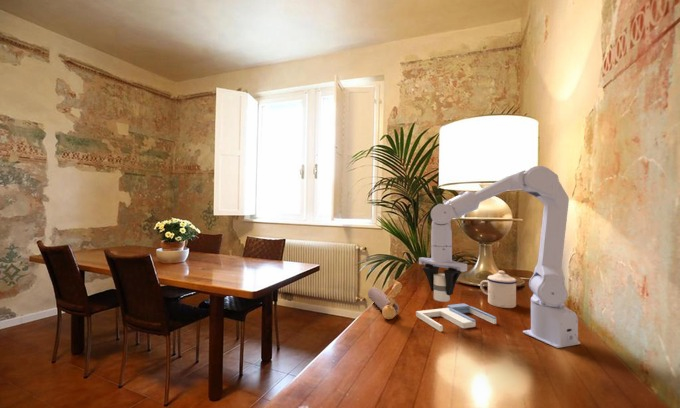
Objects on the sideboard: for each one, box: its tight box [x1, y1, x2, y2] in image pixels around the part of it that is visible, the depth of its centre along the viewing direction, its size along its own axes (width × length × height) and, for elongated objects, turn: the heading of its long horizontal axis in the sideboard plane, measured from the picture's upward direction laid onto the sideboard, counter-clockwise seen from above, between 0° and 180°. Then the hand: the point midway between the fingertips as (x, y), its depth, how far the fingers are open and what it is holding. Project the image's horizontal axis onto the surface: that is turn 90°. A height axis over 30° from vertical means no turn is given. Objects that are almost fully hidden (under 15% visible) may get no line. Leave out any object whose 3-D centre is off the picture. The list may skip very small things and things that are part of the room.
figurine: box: [381, 278, 403, 320], centre depth 88 cm, size 8×6×12 cm
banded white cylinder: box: [433, 272, 451, 303], centre depth 86 cm, size 5×5×7 cm
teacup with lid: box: [479, 270, 517, 309], centre depth 104 cm, size 12×9×12 cm
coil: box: [367, 286, 400, 317], centre depth 99 cm, size 5×5×18 cm
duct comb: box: [415, 302, 497, 332], centre depth 88 cm, size 12×19×2 cm, turn 107°
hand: (441, 292), depth 86 cm, fingers closed on banded white cylinder, 5 cm apart
